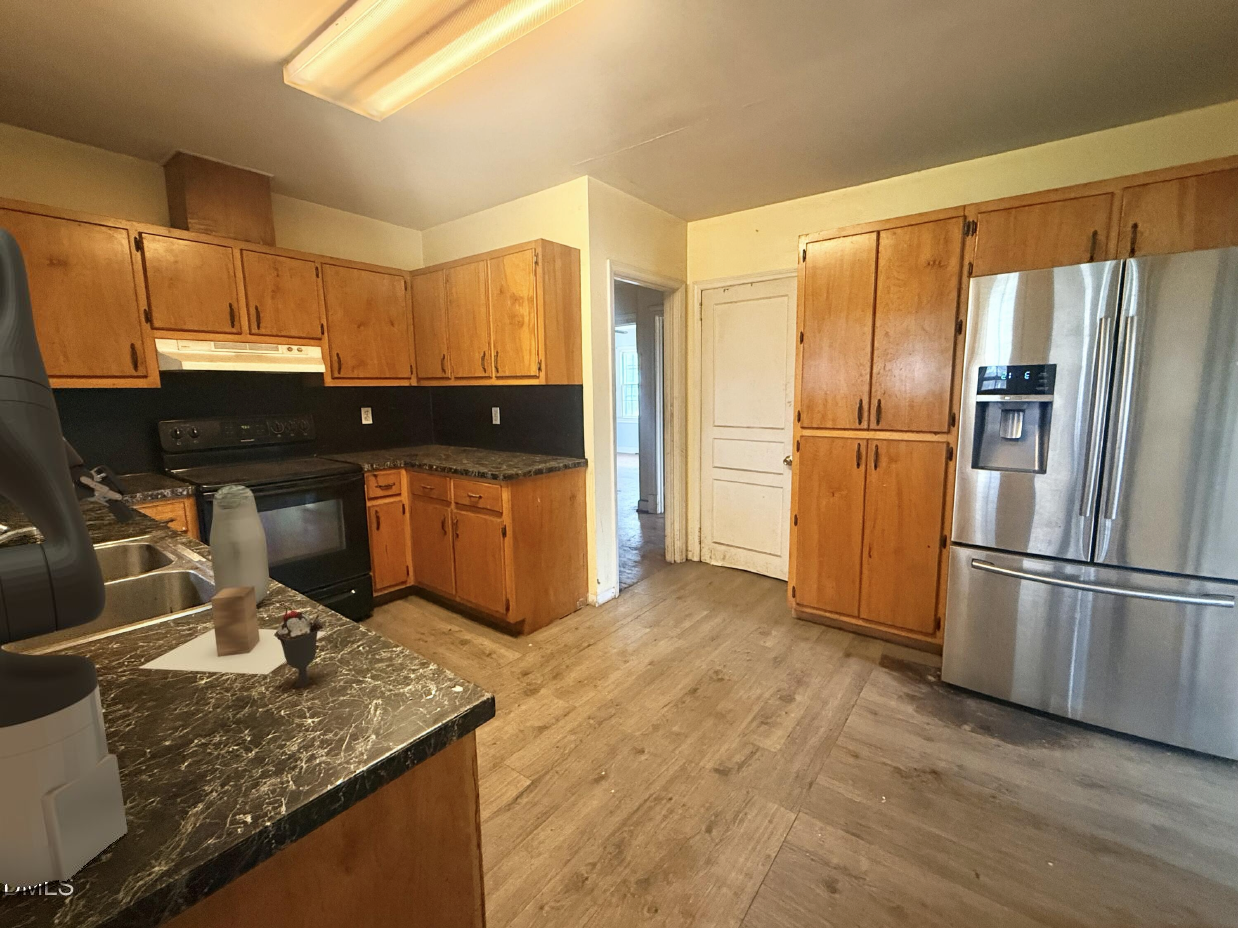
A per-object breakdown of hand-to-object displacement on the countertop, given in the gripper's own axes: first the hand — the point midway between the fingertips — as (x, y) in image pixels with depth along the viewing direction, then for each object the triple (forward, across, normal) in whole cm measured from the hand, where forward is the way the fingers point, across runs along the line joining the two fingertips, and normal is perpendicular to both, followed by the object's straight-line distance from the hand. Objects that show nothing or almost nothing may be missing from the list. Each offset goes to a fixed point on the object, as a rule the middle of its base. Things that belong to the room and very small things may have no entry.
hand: (106, 531), depth 90 cm
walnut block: (+29, +1, -4) cm, 30 cm away
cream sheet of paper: (+30, +1, -4) cm, 30 cm away
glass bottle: (+28, +22, +10) cm, 37 cm away
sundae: (+36, -11, -22) cm, 44 cm away
